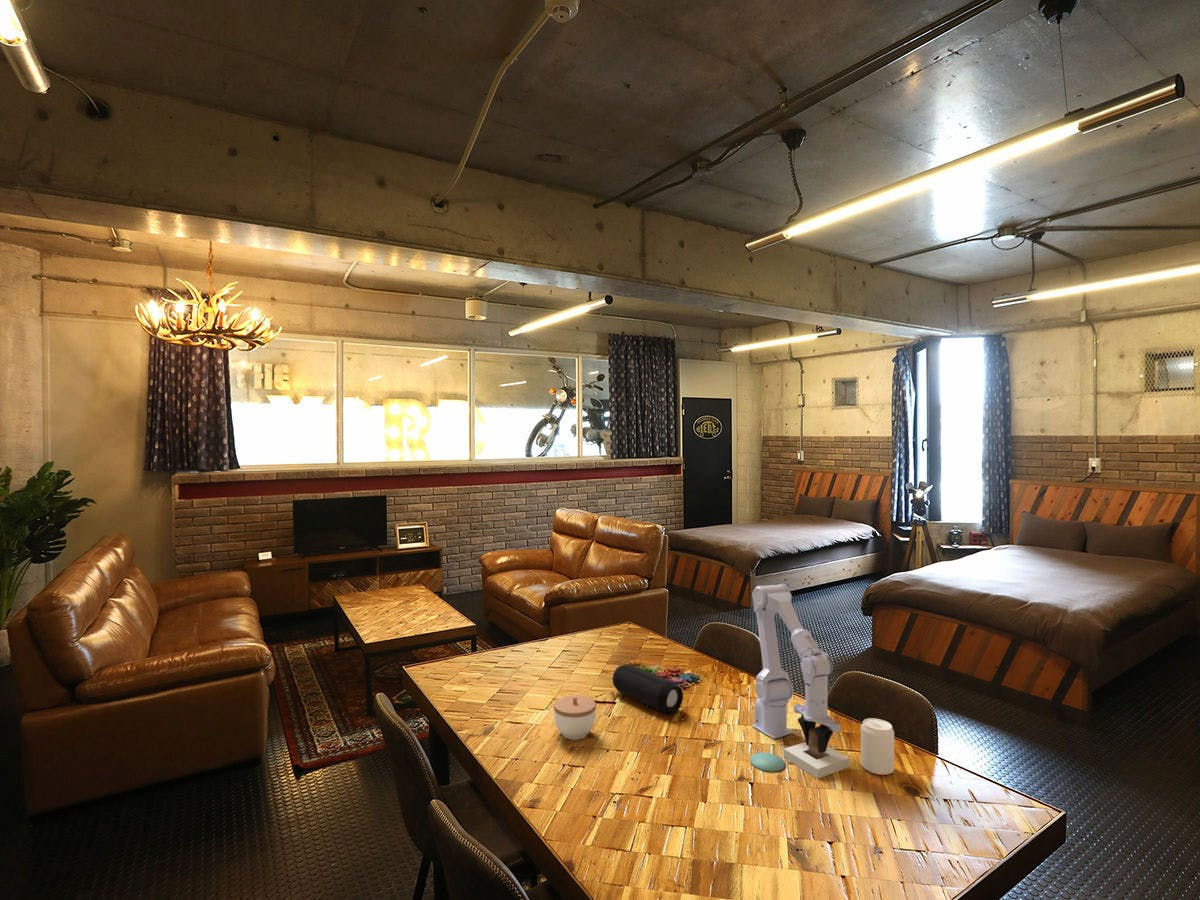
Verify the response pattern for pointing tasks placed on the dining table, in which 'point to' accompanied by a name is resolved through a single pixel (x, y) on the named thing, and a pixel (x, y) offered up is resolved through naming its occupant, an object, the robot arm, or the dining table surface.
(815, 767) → the block
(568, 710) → the lidded bowl
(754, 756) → the teal pad
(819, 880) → the dining table surface
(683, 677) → the gear puzzle
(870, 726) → the beverage can
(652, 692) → the portable speaker
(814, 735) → the walnut dowel
